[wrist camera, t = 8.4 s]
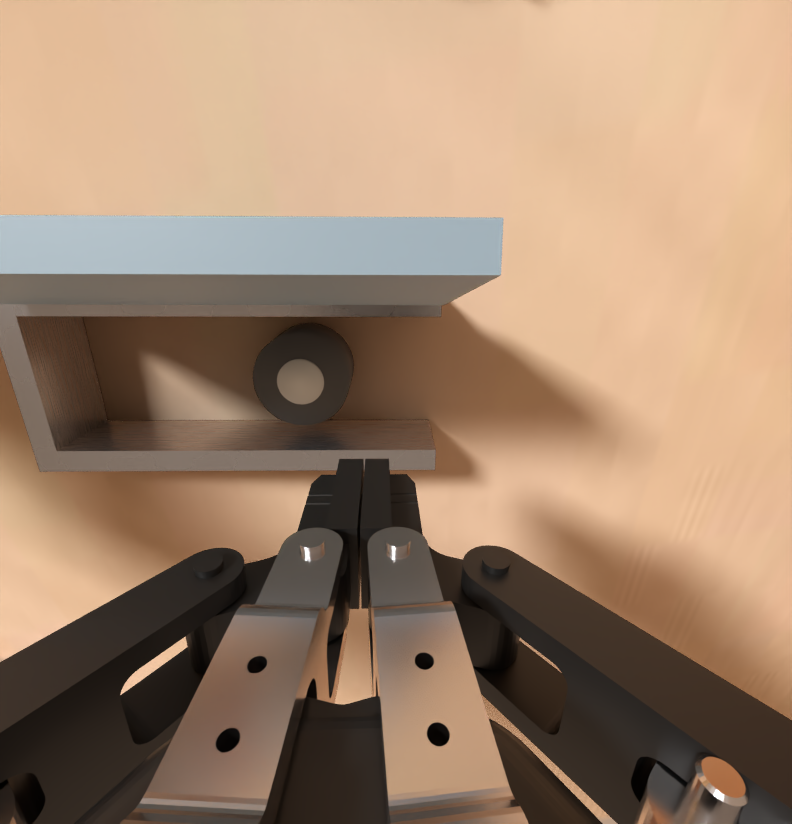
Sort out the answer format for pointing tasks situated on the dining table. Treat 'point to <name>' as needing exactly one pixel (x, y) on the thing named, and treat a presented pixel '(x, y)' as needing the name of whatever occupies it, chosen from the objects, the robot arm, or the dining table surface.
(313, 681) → the robot arm
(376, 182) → the dining table surface
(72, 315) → the grey rectangular box
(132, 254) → the cover
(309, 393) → the dark grey tape roll
